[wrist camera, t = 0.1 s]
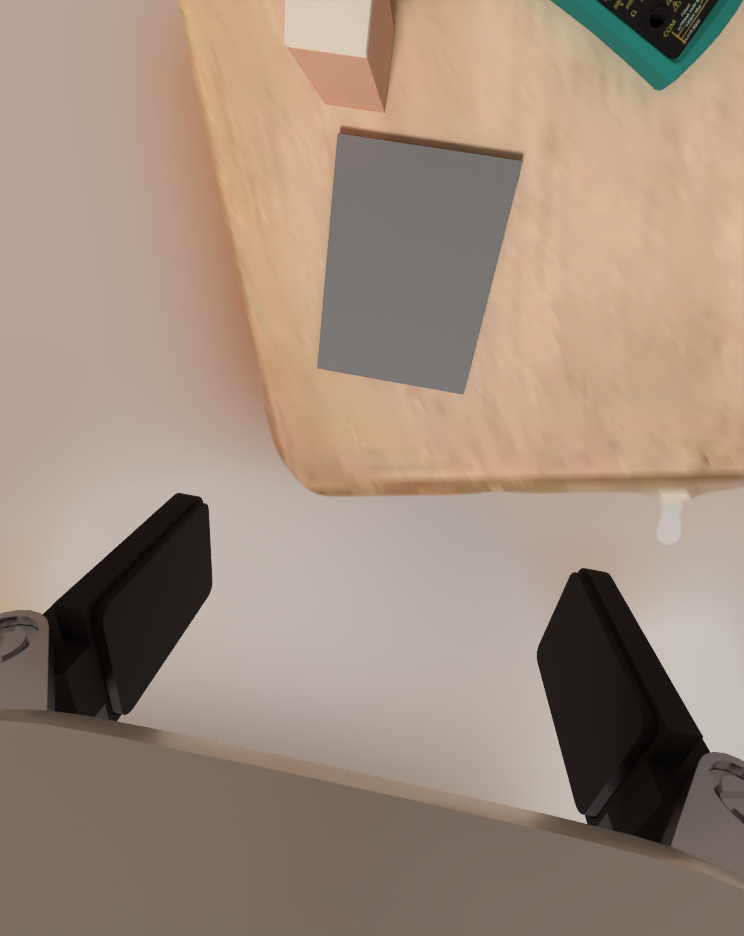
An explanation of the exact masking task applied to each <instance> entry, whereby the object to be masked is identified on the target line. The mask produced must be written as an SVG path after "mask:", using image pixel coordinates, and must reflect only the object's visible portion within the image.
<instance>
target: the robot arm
mask: <svg viewBox="0 0 744 936" xmlns="http://www.w3.org/2000/svg"><path fill="white" fill-rule="evenodd" d="M209 527H210V526H209V509H208V505H207V504H205V503H203V501H202V498H200V497H198V496H192V495H187V494H182V493H177V494H175V495H174V496H173V497H172V498H171V499H169V500H168V501H167V502H166V503H165V504H164V505H163V506H162V507H161V508H159V509H158V510H157V511H156V512H155V513H154V514H153V515H152V516H151V517H149V518H148V519H147V520H146V521H145V522H144V523H143V524H142V525H141V526H139V527H138V528H137V529H136V530H135V531H134V532H133V533H132V534H131V535H130V536H128V537H127V538H126V539H125V540H124V541H123V542H122V543H121V544H119V545H118V546H117V547H116V548H115V549H114V550H113V551H112V552H111V553H109V554H108V555H107V556H106V557H105V558H104V559H103V560H102V561H101V562H99V563H98V564H97V565H96V566H95V567H94V568H93V569H92V570H91V571H89V572H88V573H87V574H86V575H85V576H84V577H83V578H82V579H81V580H79V581H78V582H77V583H76V584H75V585H74V586H73V587H72V588H71V589H69V590H68V591H67V592H66V593H65V594H64V595H63V596H62V597H61V598H60V599H58V600H57V601H56V602H55V603H54V604H53V605H52V606H51V607H50V608H49V609H48V610H47V611H46V612H45V613H44V614H43V615H42V614H41V613H38V612H34V611H30V610H17V611H11V612H5V613H2V614H0V936H744V761H742V760H741V759H738V758H736V757H733V756H731V755H728V754H726V753H718V752H712V753H710V751H709V749H708V748H707V746H706V744H705V742H704V741H703V739H702V738H703V736H702V734H701V732H700V731H699V729H698V728H697V726H696V724H695V722H694V720H693V719H692V717H691V715H690V713H689V712H688V710H687V708H686V706H685V705H684V703H683V701H682V699H681V698H680V696H679V694H678V692H677V691H676V689H675V687H674V685H673V684H672V682H671V680H670V678H669V677H668V675H667V673H666V672H665V670H664V668H663V666H662V665H661V663H660V661H659V659H658V658H657V656H656V654H655V652H654V651H653V649H652V647H651V646H650V644H649V642H648V640H647V638H646V637H645V635H644V633H643V632H642V630H641V628H640V626H639V625H638V623H637V621H636V619H635V617H634V616H633V614H632V612H631V611H630V609H629V607H628V605H627V604H626V602H625V600H624V598H623V597H622V595H621V593H620V591H619V590H618V588H617V586H616V584H615V583H614V581H613V579H612V577H611V576H610V575H609V574H608V573H606V572H602V571H597V570H591V569H585V568H582V569H580V570H579V572H578V573H575V572H574V573H572V574H571V575H570V577H569V579H568V582H567V584H566V586H565V588H564V590H563V593H562V595H561V597H560V599H559V602H558V604H557V606H556V608H555V610H554V613H553V615H552V617H551V619H550V622H549V624H548V626H547V628H546V631H545V633H544V635H543V637H542V640H541V642H540V644H539V646H538V650H537V661H538V665H539V669H540V673H541V677H542V681H543V684H544V688H545V692H546V696H547V700H548V703H549V707H550V710H551V714H552V718H553V722H554V726H555V729H556V733H557V737H558V741H559V745H560V748H561V752H562V756H563V760H564V763H565V767H566V771H567V775H568V778H569V782H570V786H571V789H572V793H573V797H574V801H575V804H576V807H577V809H578V811H579V812H580V813H581V814H584V815H585V817H586V820H587V824H584V823H580V822H576V821H572V820H567V819H563V818H560V817H555V816H551V815H547V814H543V813H538V812H533V811H529V810H525V809H520V808H516V807H511V806H507V805H503V804H498V803H493V802H489V801H485V800H480V799H475V798H471V797H466V796H462V795H457V794H453V793H449V792H445V791H440V790H436V789H431V788H427V787H422V786H418V785H413V784H409V783H403V782H399V781H395V780H390V779H385V778H381V777H377V776H372V775H367V774H363V773H358V772H354V771H349V770H344V769H340V768H335V767H331V766H326V765H322V764H317V763H312V762H308V761H303V760H298V759H294V758H289V757H285V756H280V755H276V754H271V753H266V752H261V751H256V750H252V749H247V748H243V747H238V746H233V745H228V744H224V743H219V742H214V741H209V740H205V739H200V738H195V737H191V736H186V735H181V734H177V733H172V732H167V731H162V730H157V729H152V728H147V727H142V726H137V725H132V724H126V723H121V722H117V720H118V719H119V717H120V716H121V715H122V714H123V715H126V714H128V713H129V712H130V711H131V710H132V709H133V708H134V706H135V705H136V703H137V702H138V700H139V699H140V697H141V696H142V694H143V693H144V691H145V690H146V688H147V687H148V685H149V684H150V682H151V681H152V679H153V678H154V676H155V675H156V673H157V672H158V670H159V669H160V668H161V666H162V664H163V663H164V661H165V660H166V659H167V657H168V655H169V654H170V652H171V651H172V649H173V648H174V647H175V645H176V644H177V642H178V641H179V639H180V638H181V636H182V635H183V633H184V632H185V630H186V629H187V627H188V626H189V624H190V623H191V621H192V620H193V618H194V617H195V615H196V614H197V612H198V611H199V609H200V608H201V606H202V605H203V603H204V602H205V600H206V599H207V597H208V596H209V594H210V591H211V588H212V565H211V547H210V528H209Z"/></svg>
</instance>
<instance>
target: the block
mask: <svg viewBox="0 0 744 936" xmlns="http://www.w3.org/2000/svg"><path fill="white" fill-rule="evenodd" d="M394 33H395V31H394V24H393V18H392V12H391V6H390V0H286V1H285V28H284V43H285V44H286V46H287V47H288V49H289V50H290V52H291V53H292V55H293V56H294V58H295V59H296V61H297V62H298V64H299V65H300V67H301V68H302V70H303V71H304V73H305V74H306V76H307V77H308V79H309V80H310V82H311V83H312V85H313V86H314V88H315V89H316V91H317V92H318V93H319V95H320V96H321V98H322V99H323V101H324V102H325V104H327V105H334V106H341V107H347V108H354V109H361V110H368V111H375V112H381V113H385V105H386V97H387V89H388V81H389V73H390V65H391V57H392V49H393V41H394Z"/></svg>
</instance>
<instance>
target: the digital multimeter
mask: <svg viewBox="0 0 744 936" xmlns="http://www.w3.org/2000/svg"><path fill="white" fill-rule="evenodd" d="M551 1H552V2H554V3H555V4H556V5H558V6H559V7H560V8H561V9H563V10H564V11H565V12H567V13H568V14H569V15H571V16H572V17H573V18H574V19H576V20H577V21H578V22H580V23H581V24H582V25H584V26H585V27H586V28H587V29H589V30H590V31H591V32H592V33H593V34H595V35H596V36H597V37H598V38H599V39H600V40H601V41H603V42H604V43H605V44H606V45H607V46H608V47H610V48H611V49H612V50H613V51H614V52H615V53H616V54H618V55H619V56H620V57H621V58H622V59H623V60H624V61H626V62H627V63H628V64H629V65H630V66H631V67H632V68H633V69H634V70H635V71H636V72H637V73H638V74H640V75H641V76H642V77H643V78H644V79H645V80H646V81H647V82H648V83H649V84H650V85H651V86H652V87H653V88H655V89H656V90H662V89H664V88H666V87H667V86H668V85H670V84H671V83H673V82H674V81H675V80H677V79H678V78H679V77H680V76H681V75H682V74H683V73H684V72H685V71H686V70H687V69H688V68H689V67H690V66H691V65H692V64H693V63H694V62H695V61H696V60H697V59H698V58H699V57H700V56H701V55H702V54H703V52H704V51H705V50H706V49H707V48H708V47H709V46H710V45H711V44H712V42H713V41H714V40H715V39H716V38H717V37H718V36H719V35H720V33H721V32H722V30H723V29H724V28H725V26H726V25H727V24H728V22H729V21H730V19H731V18H732V17H733V15H734V14H735V12H736V11H737V10H738V8H739V6H740V4H741V3H742V1H743V0H719V1H718V0H599V1H600V2H599V1H598V0H551ZM603 4H604V5H605V6H606V7H605V6H604V5H603ZM608 8H609V9H610V10H611V11H610V10H609V9H608ZM711 10H712V11H711ZM614 13H615V14H616V15H615V14H614ZM619 17H620V18H621V19H622V20H621V19H620V18H619ZM704 20H705V21H704ZM624 21H625V22H626V23H627V24H626V23H625V22H624ZM630 26H631V27H632V28H633V29H632V28H631V27H630ZM635 30H636V31H637V32H638V33H637V32H636V31H635ZM697 30H698V31H697ZM647 40H648V41H649V42H648V41H647ZM690 40H691V41H690ZM652 44H653V45H654V46H653V45H652ZM657 48H658V49H659V50H658V49H657ZM662 52H663V53H664V54H665V55H664V54H663V53H662ZM668 57H669V58H668Z"/></svg>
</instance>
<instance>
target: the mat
mask: <svg viewBox="0 0 744 936" xmlns="http://www.w3.org/2000/svg"><path fill="white" fill-rule="evenodd" d="M522 162H523V161H519V160H512V159H505V158H499V157H492V156H485V155H479V154H472V153H465V152H459V151H452V150H446V149H439V148H432V147H426V146H419V145H412V144H406V143H399V142H392V141H386V140H379V139H373V138H366V137H359V136H353V135H346V134H339V133H338V136H337V148H336V159H335V171H334V182H333V194H332V205H331V217H330V228H329V240H328V252H327V263H326V275H325V286H324V298H323V309H322V321H321V332H320V344H319V355H318V367H317V368H318V369H324V370H329V371H335V372H341V373H346V374H352V375H357V376H363V377H369V378H374V379H380V380H385V381H391V382H397V383H402V384H408V385H413V386H419V387H424V388H430V389H436V390H441V391H447V392H452V393H458V394H464V390H465V386H466V383H467V379H468V375H469V371H470V367H471V363H472V359H473V355H474V351H475V347H476V343H477V339H478V335H479V331H480V327H481V323H482V319H483V315H484V311H485V308H486V304H487V300H488V296H489V292H490V288H491V284H492V280H493V276H494V272H495V268H496V264H497V260H498V256H499V252H500V248H501V244H502V240H503V237H504V233H505V229H506V225H507V221H508V217H509V213H510V209H511V205H512V201H513V197H514V193H515V189H516V185H517V181H518V177H519V173H520V169H521V165H522Z"/></svg>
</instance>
